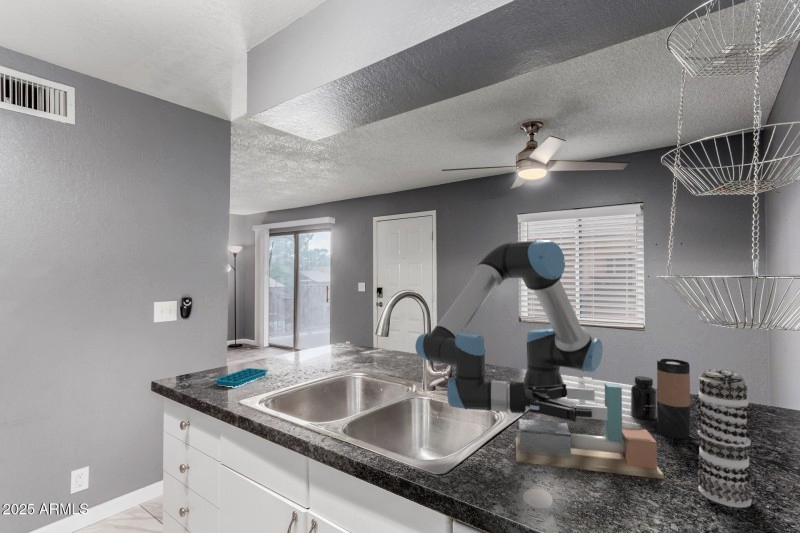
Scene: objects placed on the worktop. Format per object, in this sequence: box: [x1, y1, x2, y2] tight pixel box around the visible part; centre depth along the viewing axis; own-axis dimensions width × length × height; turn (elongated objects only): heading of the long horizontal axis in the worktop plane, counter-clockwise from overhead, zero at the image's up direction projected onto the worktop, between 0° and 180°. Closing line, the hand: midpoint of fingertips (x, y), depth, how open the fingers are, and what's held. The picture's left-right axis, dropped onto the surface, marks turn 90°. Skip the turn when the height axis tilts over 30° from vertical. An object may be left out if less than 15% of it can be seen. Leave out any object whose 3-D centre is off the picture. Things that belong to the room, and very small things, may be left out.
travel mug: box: [656, 358, 691, 440], centre depth 111 cm, size 8×8×20 cm
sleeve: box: [518, 418, 571, 459], centre depth 100 cm, size 12×7×6 cm, turn 74°
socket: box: [621, 427, 658, 469], centre depth 94 cm, size 6×7×6 cm
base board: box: [515, 436, 664, 480], centre depth 97 cm, size 31×12×1 cm, turn 74°
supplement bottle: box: [630, 375, 658, 421], centre depth 124 cm, size 7×7×12 cm
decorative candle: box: [694, 368, 754, 509], centre depth 81 cm, size 9×9×25 cm
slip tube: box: [570, 382, 626, 454], centre depth 96 cm, size 16×4×16 cm, turn 74°
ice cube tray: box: [213, 367, 269, 387], centre depth 167 cm, size 12×20×3 cm, turn 160°
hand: (600, 403), depth 96 cm, fingers open, 13 cm apart
